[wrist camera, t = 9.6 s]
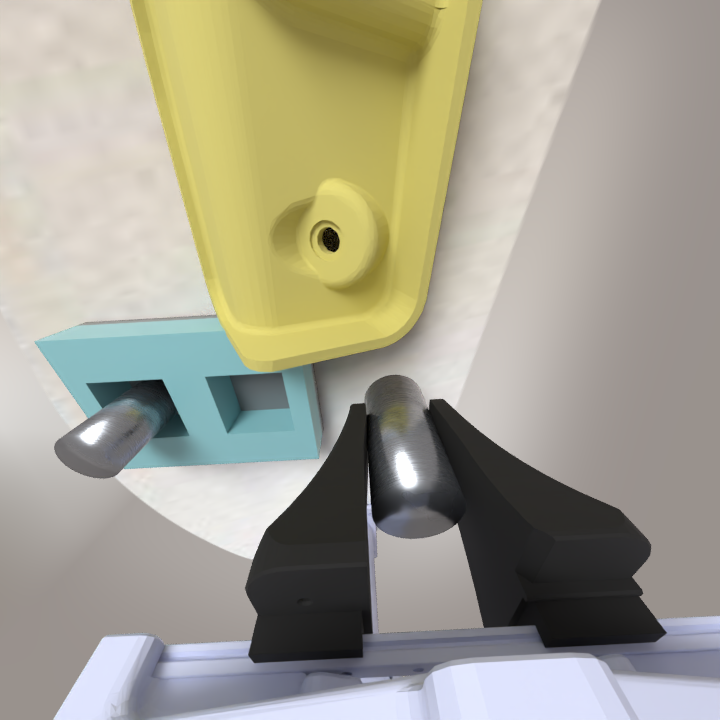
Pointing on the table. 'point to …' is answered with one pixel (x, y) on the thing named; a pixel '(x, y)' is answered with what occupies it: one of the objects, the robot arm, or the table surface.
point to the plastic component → (311, 159)
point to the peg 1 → (117, 431)
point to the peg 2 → (408, 463)
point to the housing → (191, 390)
